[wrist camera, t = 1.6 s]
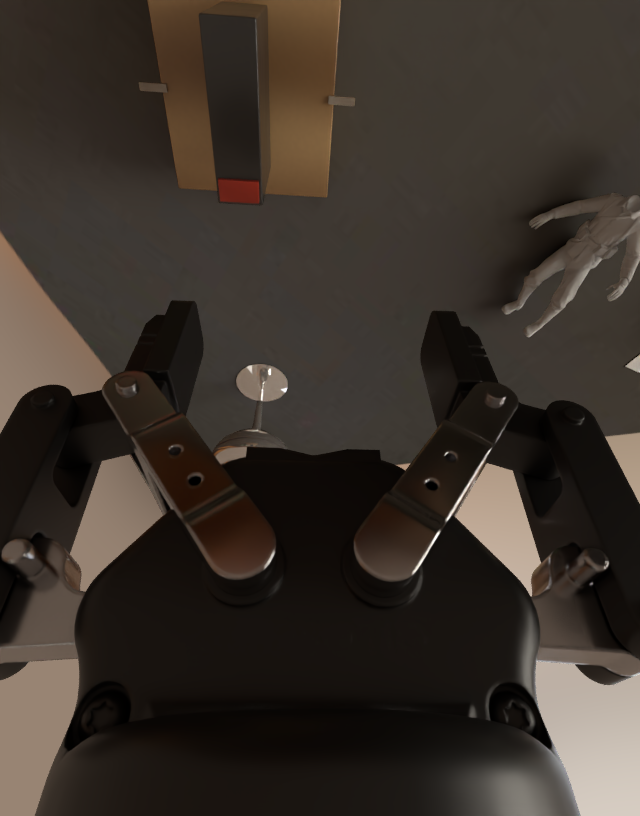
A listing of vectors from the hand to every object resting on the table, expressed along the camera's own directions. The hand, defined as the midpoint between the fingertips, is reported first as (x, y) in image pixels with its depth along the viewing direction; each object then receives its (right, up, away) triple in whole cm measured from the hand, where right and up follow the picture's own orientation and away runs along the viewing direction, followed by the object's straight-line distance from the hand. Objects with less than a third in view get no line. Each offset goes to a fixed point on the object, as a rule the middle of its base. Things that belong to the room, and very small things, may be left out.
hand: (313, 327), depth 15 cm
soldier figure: (+19, +9, +17) cm, 27 cm away
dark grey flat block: (-3, +14, +8) cm, 16 cm away
